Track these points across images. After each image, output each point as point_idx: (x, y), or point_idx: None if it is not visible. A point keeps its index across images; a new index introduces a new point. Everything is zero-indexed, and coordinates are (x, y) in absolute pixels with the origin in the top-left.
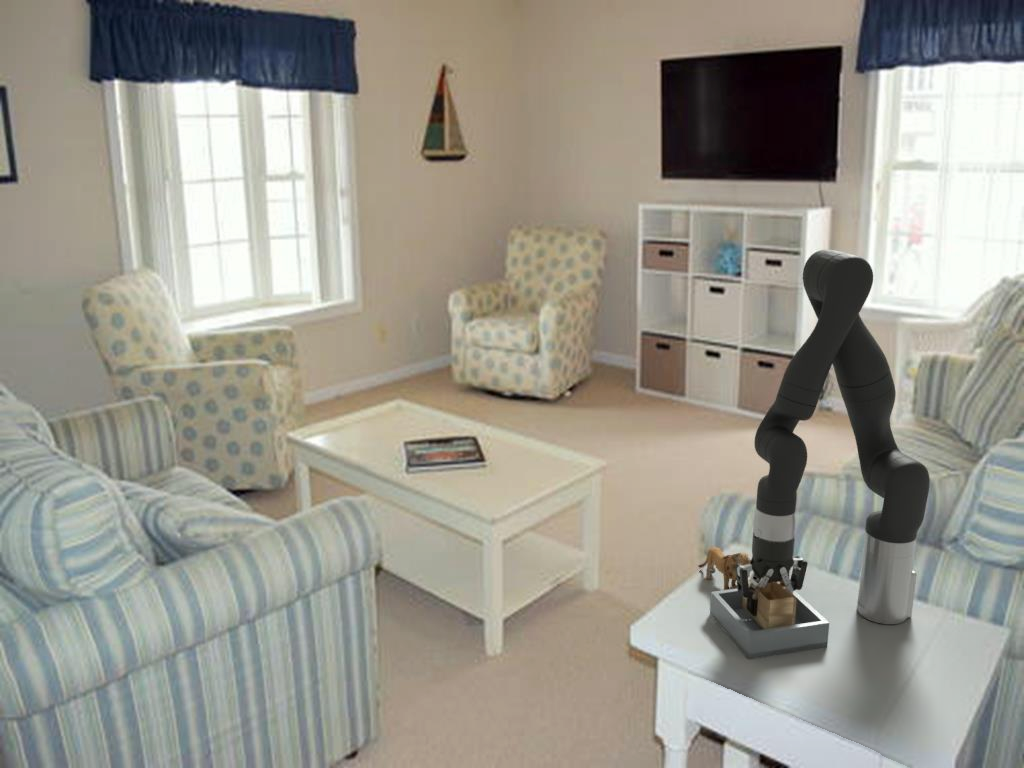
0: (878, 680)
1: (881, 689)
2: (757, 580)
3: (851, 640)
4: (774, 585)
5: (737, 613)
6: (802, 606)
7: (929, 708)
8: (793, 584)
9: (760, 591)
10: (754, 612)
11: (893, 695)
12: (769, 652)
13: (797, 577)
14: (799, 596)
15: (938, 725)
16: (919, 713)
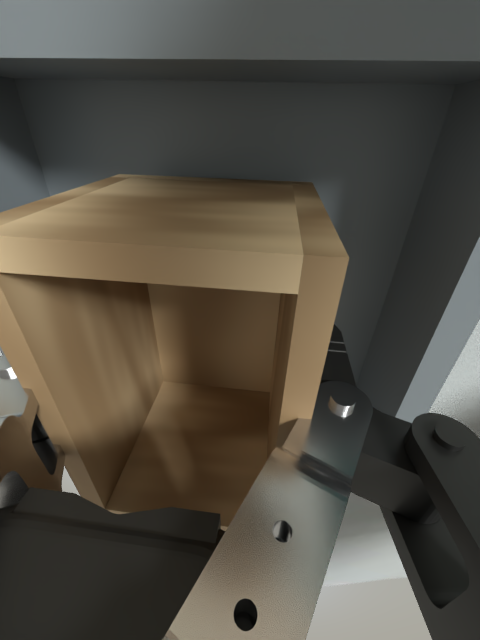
0: (360, 507)
1: None
2: (4, 477)
3: (465, 406)
4: (286, 330)
5: (126, 135)
6: (412, 351)
7: (374, 558)
8: (379, 497)
9: (62, 471)
10: None
11: (346, 531)
12: None
13: (432, 606)
14: (478, 301)
15: (348, 571)
16: (346, 557)
